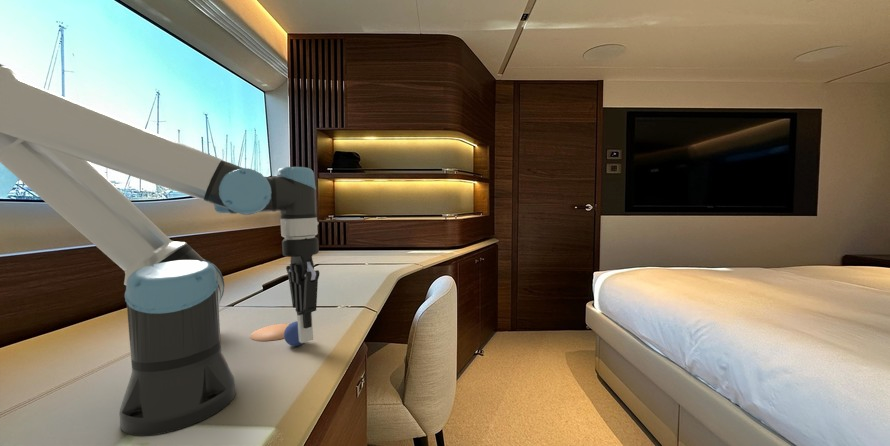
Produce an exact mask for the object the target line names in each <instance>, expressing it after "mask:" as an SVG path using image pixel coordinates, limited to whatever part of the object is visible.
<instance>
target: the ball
mask: <svg viewBox="0 0 890 446" xmlns="http://www.w3.org/2000/svg"><path fill="white" fill-rule="evenodd" d="M283 339H284V341H285V342H286V343H287V344H288V345H290V346H292V347H296V346H301V345H303V344H304V343H300V342H299V337H298V320H297V321H296V320H295V321H293V322H291V324H289V325H288V326H287V327H286V329H285V331H284V338H283Z"/></svg>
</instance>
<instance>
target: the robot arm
mask: <svg viewBox="0 0 890 446" xmlns="http://www.w3.org/2000/svg"><path fill="white" fill-rule="evenodd" d="M0 164H1V165H2V166H4V167H5V168H6V169H7V170H8V171H9V172H11V173H12V174H13V176H15V177H16V178H17V179H19V180H20V181H21V182H22V183H23V184H24V185H25V186H26V187H28V188H29V189H30V190H31V191H32V192H34V193H35V194H36V195H37V196H38V197H39V198H41V200H43V201H44V202H45V203H46V204H47V205H48V206H50V208H52V209H53V210H54V211H55V212H56V213H57V214H58V215H60V217H62V218H63V219H64V220H65V221H67V222H68V223H69V225H72V227H74V228H75V229H76V230H77V231H78V233H80V234H81V235H82V236H84V237H85V238H86V239H87V240H88V241H89V242H91V244H93V245H94V246H95V247H96V248H97V249H99V250H100V251H101V252H102V254H104V255H105V256H107V257H108V259H110V260H111V261H112V262H113V263H114V264H116V265H117V266H118V267H119V268H120V269H121V270H122V271H124V274H125V275H124V281H123V285H124V286H125V292H124V299H125V300H124V301H125V303H126V309H127V321H128V322H127V324H128V335H129V336H128V337H129V348H130V350H129V351H130V359H131V375H130V377H129V379H128V380H129V381H128V384H127V387H126V390H125V393H124V396H123V399H122V402H121V404H120V405H121V406H120V408H119V425H120V429H121V431H123V432H124V433H126V434H129V435H132V436H133V435H134V436H152V435H158V434H159V435H160V434H165V433H169V432H173V431H177V430H180V429H181V430H182V429H185V428H187V427H189V426H193V425H195V424H197V423H199V422H201V421H203V420H206V419H208V418H210V417H212V416H214V415H215V414H217V413H219V412H220V411H221V410H223V409H224V408H225V407H227V406H228V405H229V404H230V403H231V402H232V400H234V398H235V396H236V380H235V377H234V375H233V372H232V371H231V368H230V367H229V365H228V362H227V360H226V358H225V356H224V354H223V353H222V351H223V350H222V345H221V328H220V327H221V326H220V325H221V324H220V303H221V300H222V298H223V296H224V293H225V292H224V291H225V280H224V276H223V275H222V271H220V269H219V268H218V266H216V265H215V264H214V263H213V262H211V261H209V260H206V259H204V257H202V256H201V255H200V254H199V253H198V252H196V251H195V249H193V248H192V247H191V246H190V245H189V243H187V242H185V241H174V240H171V239H170V238H169V237H168V236H167V235H166V233H164V232H163V231H162V230H161V228H159V227H158V226H157V225H156V224H155V223H154V222H153V221H152V220H150V219H149V217H147V216H146V215H145V213H143V211H141V210H140V209H139V208H138V207H137V206H136V205H135V204H134V203H133V202H132V201H131V200H130V199H129V198H128V197H126V195H125V194H124V193H122V191H120V189H118V188H117V187H116V186H115V185H114V184H113V183H112V182H111V181H110V180H109V179H108V178H107V177H106V176H105V175H104V174H103V173H102V172H101V171H100V170H98V168H97V167H96V166H94V165H97V166H101V167H104V168H107V169H109V170H112V171H115V172H118V173H121V174H125V175H127V176H130V177H133V178H137V179H140V180H143V181H145V182H149V183H150V184H151V183H152V184H155V185H157V186H160V187H163V188H167V189H169V190H172V191H174V192H177V193H181V194H184V195H186V196H190V197H192V198H196V199H199V200H203V201H205V202H207V203H210V204H213V207H214V210H215V212H216V213H219V214H230V215H231V214H233V215H236V214H240V215H244V216H245V215H246V216H248V215H249V216H250V215H254V214H257V213H267V212H273V213H275V212H279V214H280V220H279V221H280V234H281V235H280V236H281V237H282V238H284V239H283V240H281V248H282V256H284V257H288V258H290V260H289V261H290V264H289V265H287V266H286V273H287V277H288V282H289V291H290V296H291V303H292V304H291V306H292V307H293V309H295V312H296V314H297V317H296V318H297V321H298V337H299V342H300V343H303V344H305V343H307V342H310V341H313V340H314V329H313V328H314V327H313V312H316V311H317V302H318V285H319V284H318V283H319V282H318V281H319V277H320V271H319V270H318V269H317V270H315V264H314V260H313V256H314V255H317V254H319V251H320V250H319V249H320V247H319V238H318V237H316V236H317V235H318V234H319V233H318V231H319V230H318V225H319V224H320V223H319V221H318V215H317V213H318V212H317V210H318V209H317V187H316V180H315V179H316V178H315V173H314V170H312V168H309V167H306V166H305V167H304V166H284V167H279V168H278V169H277V174H276V175H275V176H264V175H263V174H262V173H261V172H259V171H257V170H255V169H253V168H247V167H241V166H239V165H236V164H234V163H231V162H228V161H225V160H223V159H221V158H219V157H216V156H214V155H212V154H209V153H207V152H204V151H201V150H199V149H195V148H194V147H191V146H189V145H186V144H183V143H181V142H178V141H176V140H174V139H171V138H168V137H166V136H163V135H161V134H158V133H156V132H153V131H150V130H148V129H145V128H144V127H141V126H138V125H135V124H133V123H130V122H127V121H125V120H122V119H121V118H118V117H115V116H112V115H109V114H108V113H105V112H102V111H100V110H97V109H95V108H92V107H89V106H87V105H84V104H83V103H79V102H77V101H74V100H73V99H69V98H66V97H65V96H61V95H59V94H57V93H54V92H51V91H49V90H46V89H45V88H41V87H39V86H37V85H34V84H32V83H30V82H28V81H27V80H26V79H25V78H23V77H21V75H20V74H19V73H18V71H17V70H16V69H13V68H12V67H10V66H6V65H4V64H1V63H0ZM93 164H94V165H93Z"/></svg>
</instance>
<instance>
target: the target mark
mask: <svg viewBox="0 0 890 446" xmlns="http://www.w3.org/2000/svg"><path fill="white" fill-rule="evenodd" d="M291 323H292V322H291ZM291 323H290V322H287V323H278V324H277V323H276V324H271V325H268V326H264V327H261V328H259V329H256V330H254V331H253V332H251V334H250V339H251V340H253V341H256V342H257V341H258V342H270V341H279V340H283V339H284V331H285V329H286V327H287V326H288V325H289V324H291Z"/></svg>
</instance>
